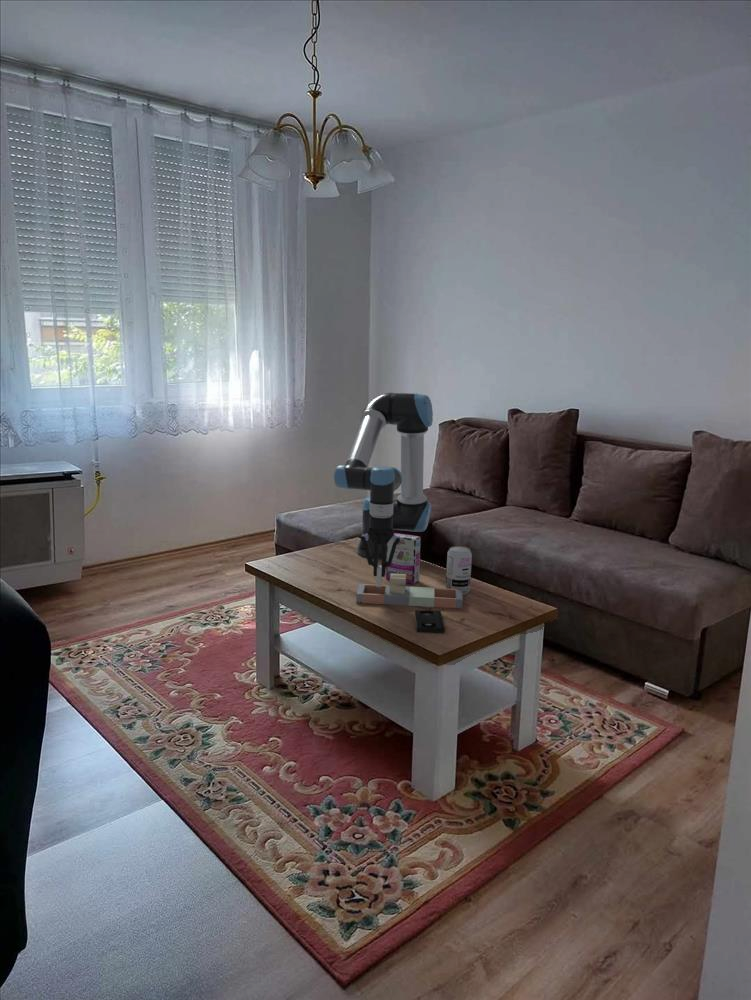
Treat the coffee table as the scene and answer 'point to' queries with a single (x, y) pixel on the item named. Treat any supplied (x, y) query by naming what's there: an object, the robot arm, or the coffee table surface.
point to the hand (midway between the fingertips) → (379, 585)
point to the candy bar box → (405, 558)
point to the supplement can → (459, 569)
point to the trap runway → (410, 596)
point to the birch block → (397, 583)
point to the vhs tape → (429, 621)
